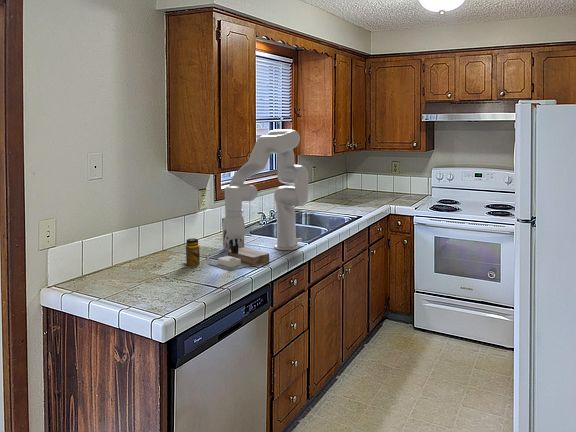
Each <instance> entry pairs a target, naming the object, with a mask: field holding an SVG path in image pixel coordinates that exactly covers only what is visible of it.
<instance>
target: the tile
mask: <svg viewBox="0 0 576 432" xmlns="http://www.w3.org/2000/svg"><path fill="white" fill-rule="evenodd" d="M217 261H218V264H221V265H225V266H228V267H233V266H237V265H241V259H238V258H234V257H231V256H228V255H225V256H221V257H217Z"/></svg>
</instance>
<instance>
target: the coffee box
mask: <svg viewBox="0 0 576 432" xmlns="http://www.w3.org/2000/svg"><path fill="white" fill-rule="evenodd" d="M223 220H224V217H223V218H222V217H221V226H222V230H223ZM224 240H225V239H224V238H223V237H222V246H223V247H222V249H223V250H225V251H227V252H228V251H230V250H231V245H230V244H229V243H226V242H224ZM243 247H245V238H244V239H243V240H241V241H240V244H239V245H238V249H239V248H243Z"/></svg>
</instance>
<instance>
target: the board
mask: <svg viewBox="0 0 576 432" xmlns="http://www.w3.org/2000/svg"><path fill="white" fill-rule="evenodd" d="M227 256H231V257H234V258H238V259H241V262H242V263H246V264H249V265H251V266H250V267H256V266H260V265H263V264H266V263H270V252H269V253H268V252H266V251H260V250H256V249H252V248H247V247H245V246H244V247H243V248H239V249H238V254H232V253H231V250H230V251H227ZM255 265H256V266H255Z"/></svg>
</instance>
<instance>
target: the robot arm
mask: <svg viewBox="0 0 576 432" xmlns="http://www.w3.org/2000/svg"><path fill="white" fill-rule="evenodd" d="M300 141H301V136H300V134H299V132H298V131H297V130H294V129H273V130H269V132H267V134H266V135H261V136H259V137H258V138H257V139H256V141H255V144H254V146H253V149H252V150H251V153H250V156H249V158H248V159H247V161H246V163H244V164H243V165H242V166H241V167H240V168H239V169H238V170H236V172H235V173H233V175H232V178H231V180H230V183H229V185H228V186H226V187H225V188H224V206H225V207H224V215H225V217H223V218H224V220H223V230H222V231H221V232H222V234H221V235H222V236H221V237H222V239H223V238H224V239H225V240H224V242H226V243H229V244H230V245H231V253H232V254H238V245H239V244H240V241H241V240H243V239H244V240H245V235H246V225H245V219H244V216H243V214H244V209H243V202H252V201H254V200H255V199H257V197H258V189H257V188H256V186H255V185H252V184H247V183H245V182H246V180H248V179H249V178H250V177H252V176H254V175H256V174H260V173H262V172H263V171H264V170H265V169H266V166H267V163H268V161H269V160H270V159H269V158H270V156H271V154H272V155H273V154H274V155H277V156H276V157H277V180H278V181H279V182H280V183H282V184H287V185H288V184H289V185H294V186H287V185H282V186H281V185H280V186H279V187H277V188H276V189H275V190H274V201H275V207H276V209H275V210H276V244H274V245H273V248H274V249H275V250H279V251H294V250H297V249H299V248H300V245H299V244H298V243H300V242H302V241H303V238H302V237H296V236H297V235H296V229H297V227H296V223H297V221H296V210H295V208H294V207H298V208H299V207H300V208H301V207H304V206H305V205H306V204H307V203H308V199H309V171H308V170H307V168H306V167H305V166H304V165H301V164H296V163H295V162H296V161H295V153H294V150H293V149H296V148H297V147H298V145H299V143H300Z"/></svg>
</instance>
